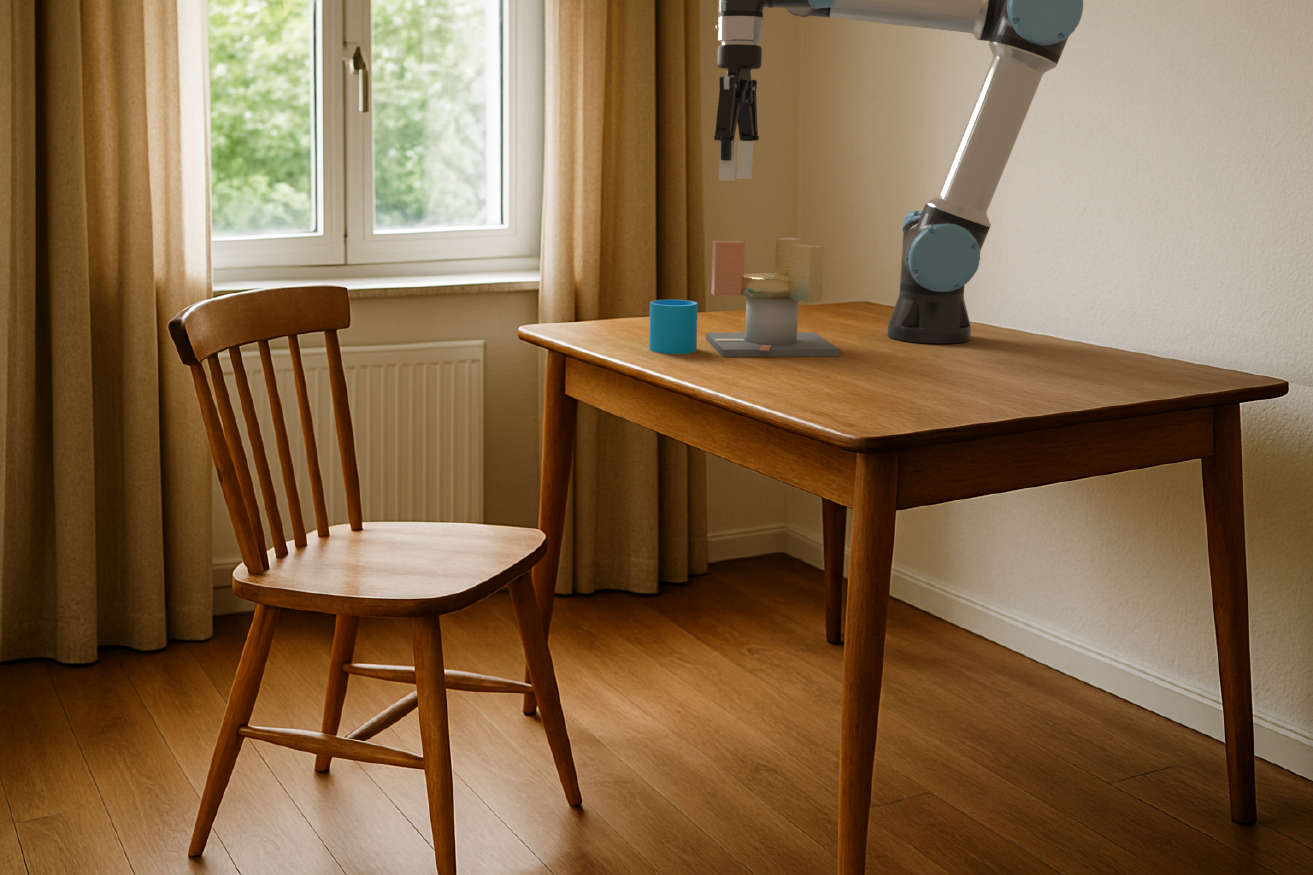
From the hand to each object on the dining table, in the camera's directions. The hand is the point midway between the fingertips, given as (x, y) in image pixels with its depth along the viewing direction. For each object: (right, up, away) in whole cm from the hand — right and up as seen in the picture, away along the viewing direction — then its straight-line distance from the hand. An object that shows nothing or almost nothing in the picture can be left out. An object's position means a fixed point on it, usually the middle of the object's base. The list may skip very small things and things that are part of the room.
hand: (735, 179), depth 217 cm
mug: (-12, -29, 0) cm, 32 cm away
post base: (+6, -29, +2) cm, 30 cm away
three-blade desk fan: (+4, -20, -1) cm, 21 cm away
